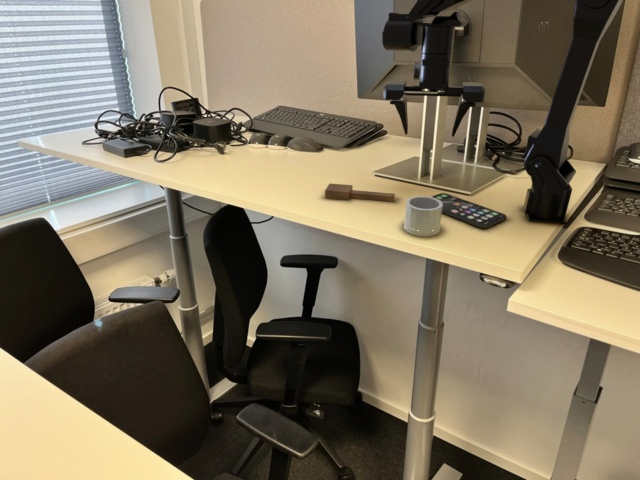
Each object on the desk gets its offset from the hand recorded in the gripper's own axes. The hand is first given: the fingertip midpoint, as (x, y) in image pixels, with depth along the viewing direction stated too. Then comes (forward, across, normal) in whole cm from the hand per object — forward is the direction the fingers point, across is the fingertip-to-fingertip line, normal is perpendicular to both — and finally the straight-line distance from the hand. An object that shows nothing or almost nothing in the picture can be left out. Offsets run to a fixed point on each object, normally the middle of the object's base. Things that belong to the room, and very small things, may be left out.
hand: (429, 135), depth 94 cm
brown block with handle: (+12, +13, +8) cm, 19 cm away
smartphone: (+12, -8, +10) cm, 17 cm away
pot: (+12, 0, +19) cm, 23 cm away
